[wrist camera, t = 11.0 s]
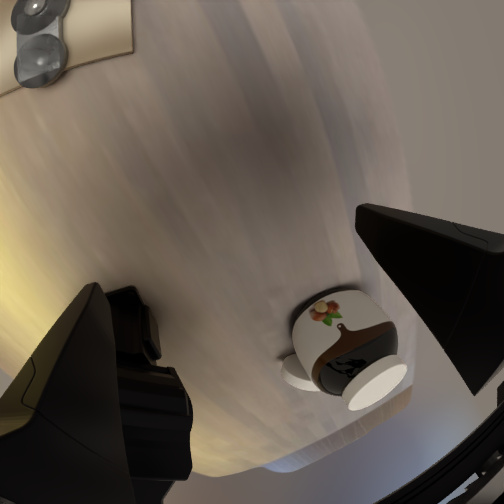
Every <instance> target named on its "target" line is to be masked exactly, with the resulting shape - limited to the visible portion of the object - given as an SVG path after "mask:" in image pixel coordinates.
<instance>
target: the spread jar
mask: <svg viewBox="0 0 504 504" xmlns="http://www.w3.org/2000/svg"><path fill="white" fill-rule="evenodd" d="M292 341H293V345H294V349H295V352H296V354H292V355H289V356H287V357H286V358H285V359H284V360H283V364H282V369H281V375H282V377H283V379H284V380H285V381H286V382H287V383H289V384H290V385H292V386H294V387H296V388H299V389H303V390H307V391H322V392H324V393H326V394H329V395H333V396H341V397H342V399H343V400H344V402H345V403H346V405H347V407H348V408H349V410H360V409H363V408H365V407H367V406H370V405H371V404H373V403H375V402H377V401H378V400H380V399H381V398H383V397H384V396H385V395H387V394H388V393H389V392H390V391H391V390H392V389H393V388H394V387H395V386H396V385H397V384H398V383H399V382H400V381H401V380H402V378H403V377H404V375H405V373H406V371H407V366H406V364H405V363H404V362H403V361H402V359H401V358H400V357H399V356H398V355H397V350H398V335H397V330H396V327H395V325H394V323H393V322H392V320H391V319H390V317H389V316H388V315H387V314H386V313H385V311H384V310H383V309H382V308H381V307H380V306H379V305H378V304H377V303H376V302H375V301H374V300H373V299H372V298H371V297H370V296H368V295H367V294H365V293H364V292H362V291H359V290H355V289H348V288H339V289H332V290H328V291H325V292H323V293H320V294H319V295H317V296H315V297H314V298H313V299H311V300H310V301H309V302H308V303H307V304H306V305H305V306H304V307H303V308H302V309H301V310H300V312H299V313H298V315H297V317H296V319H295V322H294V325H293V330H292Z"/></svg>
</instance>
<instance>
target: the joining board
mask: <svg viewBox="0 0 504 504" xmlns="http://www.w3.org/2000/svg"><path fill="white" fill-rule="evenodd" d="M16 2H17V0H0V96H2V95H5V94H7V93H9V92H11V91H13V90H16V89H18V88H20V87H22V86H21V85H20V84H19V83H18V82H17V80H16V78H15V75H14V62H15V58H16V56H17V32H15V31H14V29H13V28H12V25H11V14H12V10H13V8H14V6H15V4H16ZM63 41H64V42H65V44H66V46H67V48H68V61H67V65H66V67H65V69H64V71H65V70H68V69H72V68H75V67H78V66H81V65H85V64H89V63H92V62H96V61H100V60H104V59H108V58H112V57H116V56H121V55H126V54H131V53H133V40H132V15H131V0H71V1H70V7H69V10H68V12H67V14H66V16H65V17H64V19H63Z"/></svg>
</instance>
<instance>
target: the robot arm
mask: <svg viewBox="0 0 504 504" xmlns="http://www.w3.org/2000/svg"><path fill="white" fill-rule="evenodd" d="M355 229H356V232H357V233H358V235H359V236H360V238H361V239H362V241H363V242H364V243H365V245H366V246H367V248H368V249H369V251H370V252H371V254H372V255H373V257H374V258H375V260H376V261H377V262H378V264H379V265H380V266H381V267H382V269H383V270H384V271H385V272H386V274H387V275H388V276H389V277H390V278H391V280H392V281H393V282H394V283H395V285H396V286H397V287H398V289H399V290H400V291H401V292H402V294H403V295H404V296H405V298H406V299H407V300H408V301H409V303H410V304H411V305H412V307H413V308H414V309H415V311H416V312H417V313H418V315H419V316H420V317H421V319H422V320H423V321H424V323H425V324H426V325H427V327H428V328H429V330H430V331H431V332H432V334H433V335H434V337H435V338H436V339H437V341H438V342H439V344H440V345H441V347H442V348H443V349H444V351H445V353H446V354H447V356H448V357H449V358H450V360H451V362H452V363H453V365H454V366H455V367H456V369H457V371H458V372H459V374H460V375H461V377H462V378H463V380H464V381H465V383H466V385H467V386H468V388H469V390H470V391H471V393H472V394H473V395H474V396H475V395H476V394H478V393H479V392H480V391H481V390H482V389H483V388H484V387H485V386H486V385H487V384H488V383H489V382H490V381H491V380H492V379H493V378H494V377H495V376H496V375H497V374H498V373H499V371H501V369H502V368H503V367H504V234H500V233H495V232H491V231H487V230H483V229H478V228H474V227H470V226H466V225H461V224H458V223H454V222H452V223H451V222H450V221H446V220H442V219H437V218H434V217H430V216H425V215H421V214H417V213H412V212H408V211H403V210H398V209H394V208H389V207H384V206H379V205H374V204H369V203H365V204H361V205H358V206H357V208H356V217H355ZM129 292H134V293H133V294H131V293H129ZM161 356H162V355H161V348H160V341H159V333H158V325H157V323H156V321H155V319H154V317H153V315H152V313H151V311H150V308H149V307H148V306H147V305H144V304H143V302H142V300H141V298H140V295H139V293H138V291H137V289H136V288H135V287H127V288H124V289H120V290H117V291H113V292H110V293H107V294H104V292H103V290H102V288H101V287H100V285H99V284H98V283H97V282H93V283H90V284H87V285H85V286H84V287H83V289H82V290H81V291H80V292H79V293H78V295H77V296H76V297H75V298H74V300H73V301H72V302H71V303H70V304H69V306H68V307H67V308H66V309H65V311H64V312H63V313H62V315H61V316H60V317H59V318H58V320H57V321H56V322H55V324H54V325H53V326H52V327H51V329H50V330H49V331H48V333H47V334H46V335H45V337H44V338H43V339H42V341H41V342H40V344H39V345H38V346H37V348H36V349H35V350H34V352H33V353H32V355H31V357H29V359H28V360H27V362H26V363H25V365H24V366H23V368H22V369H21V370H20V372H19V373H18V375H17V376H16V378H15V379H14V380H13V382H12V383H11V384H10V386H9V387H8V389H7V390H6V391H5V392H4V394H3V395H2V397H1V398H0V504H163V499H164V498H165V496H166V495H167V493H168V492H169V490H170V488H171V487H172V485H173V484H174V483H175V481H185V480H187V479H188V477H189V475H190V472H191V470H192V458H191V451H190V431H191V428H192V423H193V408H192V403H191V400H190V398H189V396H188V394H187V392H186V390H185V388H184V386H183V384H182V382H181V380H180V379H179V377H178V375H177V373H176V371H175V369H174V368H173V367H167V368H166V367H160V366H157V364H156V360H159V359H160V358H161ZM474 473H476V474H477V475H478V477H479V478H478V479H477V480H475V481H474V482H472V483H471V484H469V485H468V486H467V487H466V488H465V490H466V492H465V493H463V494H461V495H460V496H458V497H456V498H454V499H452V500H451V501H449V502H448V503H447V504H504V381H503V382H502V383H501V385H500V386H499V387H498V388H497V408H496V409H495V410H494V411H493V412H492V413H491V414H490V415H489V416H488V417H487V418H486V419H485V420H484V421H483V422H482V423H481V424H480V425H479V426H478V427H477V428H476V429H475V430H474V431H473V432H472V433H471V434H470V435H469V436H468V437H466V438H465V439H464V440H463V441H462V442H461V443H460V444H458V445H457V446H456V447H455V448H454V449H452V450H451V451H450V452H449V453H448V454H446V455H445V456H444V457H443V458H441V459H440V460H439V461H438V462H436V463H435V464H434V465H432V466H431V467H430V468H428V469H427V470H425V471H424V472H423V473H421V474H420V475H418V476H417V477H416V478H414V479H413V480H411V481H410V482H408V483H407V484H405V485H404V486H402V487H400V488H399V489H398V490H396V491H394V492H392V493H391V494H389V495H387V496H386V497H384V498H382V499H381V500H379V501H377V502H375V503H373V504H438V503H439V502H441V501H442V500H443V499H444V498H446V497H447V496H448V495H449V494H451V493H452V492H453V491H454V490H456V489H457V488H458V487H459V486H460V485H461V484H463V483H464V482H465V481H466V480H467V479H468V478H469V477H470V476H472V474H474Z"/></svg>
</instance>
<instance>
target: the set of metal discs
mask: <svg viewBox="0 0 504 504" xmlns="http://www.w3.org/2000/svg"><path fill="white" fill-rule="evenodd" d="M70 1H71V0H17V2H16V4H15V6H14V8H13V10H12V14H11V25H12V28H13V29H14V31H15V32H17V56H16V58H15V62H14V75H15V78H16V80H17V82H18V83H19V84H20V85H21V86H23V87H26V88H43V87H46V86H48V85H50V84H52V83H53V82H55V81H56V80H57V79H58V78H59V77H60V75H61V74H62V73H63V71H64V69H65V67H66V65H67V61H68V48H67V46H66V44H65V42H64V41H63V19H64V17H65V16H66V14H67V12H68V10H69V7H70Z"/></svg>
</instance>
